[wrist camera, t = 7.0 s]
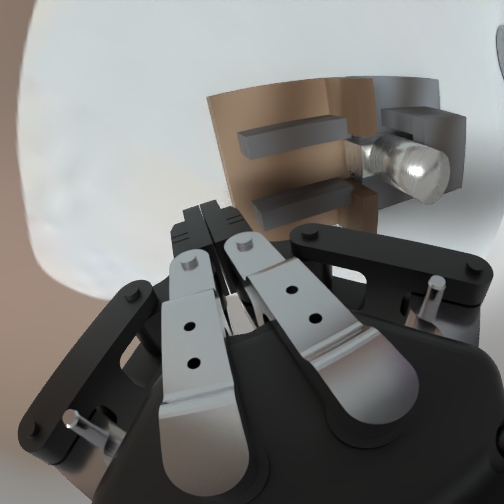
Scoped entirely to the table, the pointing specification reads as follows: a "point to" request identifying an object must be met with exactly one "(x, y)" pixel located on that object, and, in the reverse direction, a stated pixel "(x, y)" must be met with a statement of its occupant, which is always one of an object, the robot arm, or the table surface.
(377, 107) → the plate
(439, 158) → the steel bolt
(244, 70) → the table surface
